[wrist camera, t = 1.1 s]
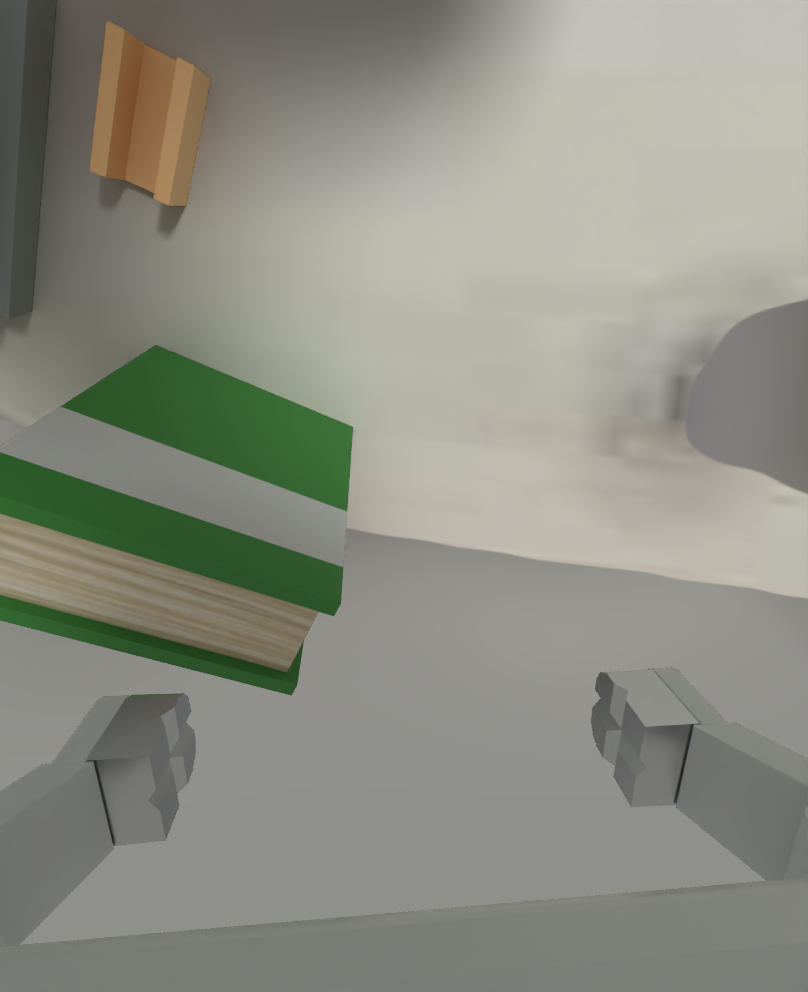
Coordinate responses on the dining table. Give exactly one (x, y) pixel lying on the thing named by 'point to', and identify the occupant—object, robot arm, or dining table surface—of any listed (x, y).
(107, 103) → the chute
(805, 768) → the robot arm
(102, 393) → the hardback book
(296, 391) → the dining table surface
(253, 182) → the dining table surface
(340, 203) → the dining table surface
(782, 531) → the dining table surface
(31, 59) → the panel with grey ball
